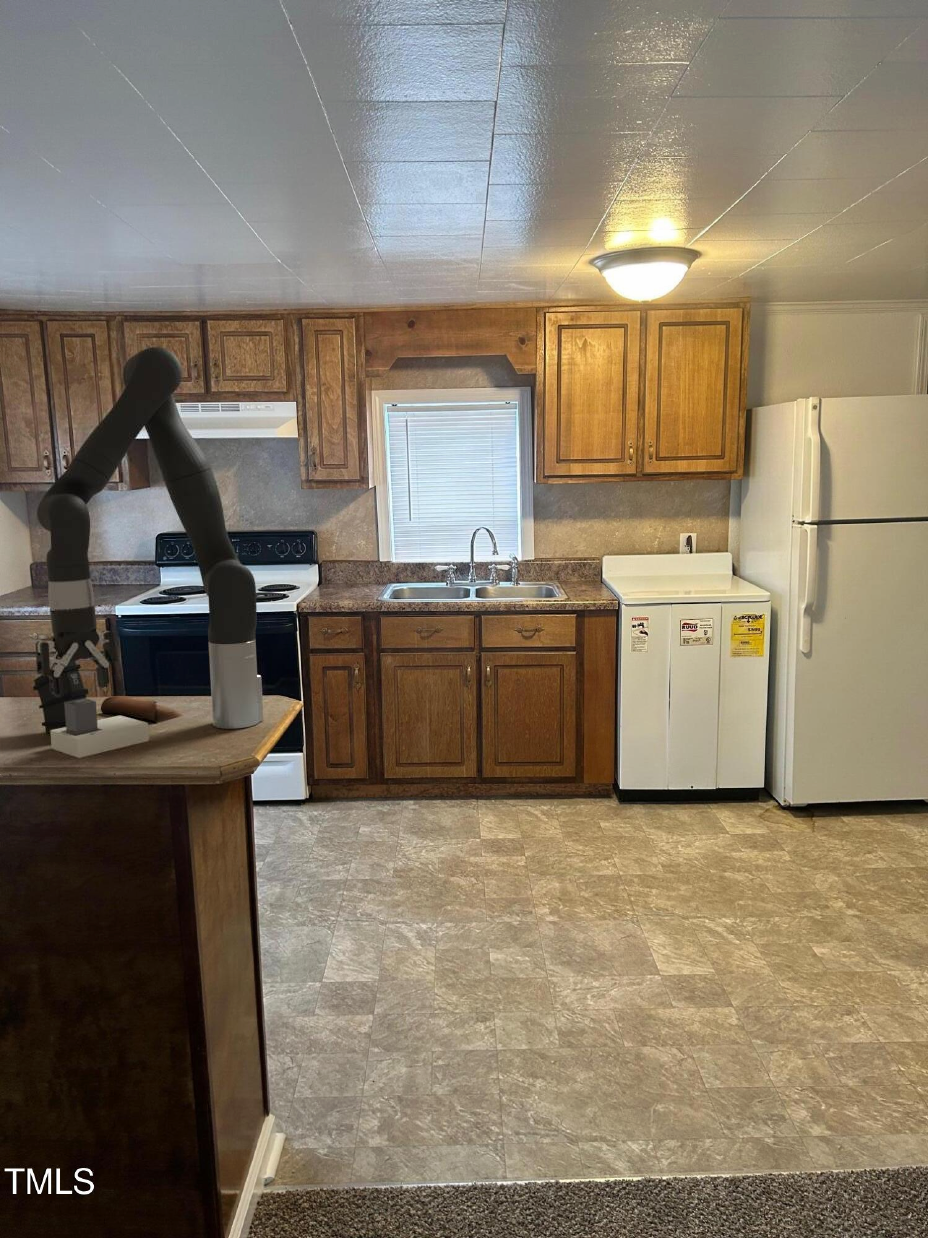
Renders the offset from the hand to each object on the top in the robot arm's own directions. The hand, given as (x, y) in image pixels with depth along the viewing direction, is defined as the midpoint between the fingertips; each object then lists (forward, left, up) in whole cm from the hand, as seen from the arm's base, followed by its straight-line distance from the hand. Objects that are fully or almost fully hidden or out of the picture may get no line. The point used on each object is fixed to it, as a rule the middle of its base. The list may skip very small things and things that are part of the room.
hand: (81, 692), depth 166 cm
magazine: (-3, -14, -11) cm, 18 cm away
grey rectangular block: (0, 0, -11) cm, 11 cm away
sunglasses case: (-21, -16, -12) cm, 29 cm away
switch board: (-3, 0, -11) cm, 11 cm away
